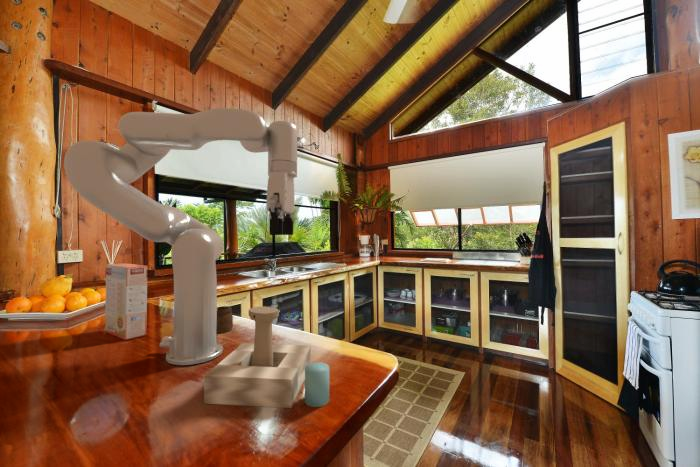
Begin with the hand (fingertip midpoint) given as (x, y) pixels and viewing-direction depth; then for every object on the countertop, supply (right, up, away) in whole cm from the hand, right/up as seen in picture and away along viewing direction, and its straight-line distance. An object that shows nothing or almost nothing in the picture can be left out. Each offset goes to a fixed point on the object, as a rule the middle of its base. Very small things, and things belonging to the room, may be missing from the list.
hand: (282, 234), depth 79 cm
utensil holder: (-22, -30, +15) cm, 40 cm away
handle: (0, -31, -18) cm, 35 cm away
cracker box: (-50, -30, +11) cm, 59 cm away
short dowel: (+12, -30, -24) cm, 41 cm away
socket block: (0, -30, -18) cm, 35 cm away
